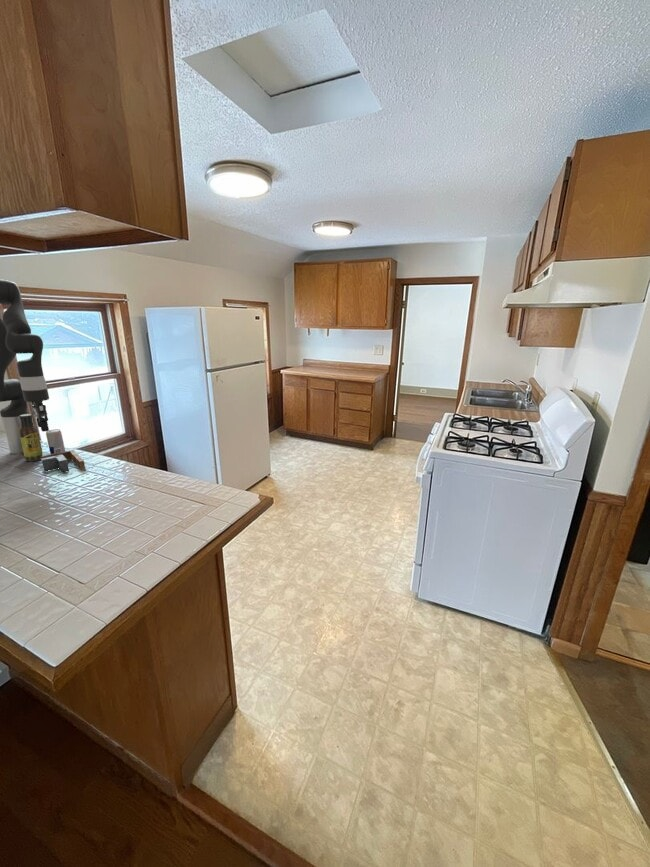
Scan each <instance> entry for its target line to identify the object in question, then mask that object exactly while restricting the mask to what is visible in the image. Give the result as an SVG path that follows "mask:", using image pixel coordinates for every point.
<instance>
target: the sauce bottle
mask: <svg viewBox="0 0 650 867" xmlns="http://www.w3.org/2000/svg"><path fill="white" fill-rule="evenodd" d="M19 417H20V420H21V425H22V427H21V429H20V438H21V443H22V448H23V452H24V453H23V455H24V456H23V457H24V459H25V461H27V462H33V461H35V462H36V461H39V460H41V459H42V456H43V454H44V453H43V449H42V448H43V447H42V443H41V438H40V434H39V430H38V428H37V427H36V426H35V425H34V422H33V415H32V413H31V414H30V413H28V414H24V415H20V416H19Z"/></svg>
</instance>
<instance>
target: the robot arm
mask: <svg viewBox="0 0 650 867" xmlns="http://www.w3.org/2000/svg"><path fill="white" fill-rule="evenodd" d="M0 304H1V305H10V306H9V307H7V309H6V310H5V311H4V312H3V313H2V317H1V316H0V402H1V403H2V402H10V403H9V404H8V405H7V406H5V407H4V408H2V409H0V418H1V421H2V425H3V429H4V433H5V436H6V441H7V444H8V448H9V452H10V454H12V455H20V454H24V452H23V448H22V443H21V438H20V429H21V427H22V425H21V420H20V417H19V416H20V415H24V414H29V413H28V408H29V406H28V403H31V405H30V407H31V410H32V413H33V415H34V417H35V419H36V423H37V426H38V428H40V430H41V432H43V433H44V432H46V431H49V430H50V429H49V424H48V422H49V418H48V411H47V406H46V404H45V403H44V401H49V400H50V395H49V390H48V385H47V381H46V378H45V375H44V370H43V364H42V357H43V356H42V355H43V351H44V350H43V349H44V341H43V339H42V337H41V336H40V335H38V334H35V333H32V329H31V326H30V324H29V322H28V320H27V318H26V314H25V309H24V302H23V298H22V294H21V290H20V288H19V286H18V285H17V283H15V282H13V281H10V280H6V279H1V278H0ZM17 354H32V355H31V356H30V358H26V359H22V360H18V361H17V362H16V367H17V370H18V375H19V379H17V378H8V379H5V374H6V372H7V369H8V368H9V366H10V365H11V363H12V362H13V361H14V360H15V357H16V356H17ZM27 402H28V403H27Z"/></svg>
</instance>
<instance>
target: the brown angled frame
mask: <svg viewBox="0 0 650 867" xmlns="http://www.w3.org/2000/svg"><path fill="white" fill-rule="evenodd" d="M42 455H43V454H42ZM57 455H63V456H64V457H65V458H66V459H67V462H68V461H72V462H73V463H74V464H75V466H76V467H77V466H78V467H77V468H78V469H79V470H80V471H82V472H83V471H86V465H85V461H84V459H83V458H82V456H80V455H79V454H78V453H77V452H76V451H75V450H74V449H71V450H65V451H64V452H59V453H53V454H50V453H49V454H44V455H43V456H42V458H47V457H52V456H57Z"/></svg>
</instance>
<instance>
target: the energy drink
mask: <svg viewBox="0 0 650 867" xmlns="http://www.w3.org/2000/svg"><path fill="white" fill-rule="evenodd" d="M45 437H46V439H47V444H48V448H49V454H53V453H59V452H64V451H66V447H65V444H64V439H63V434H62V431H61V429H49V431H45Z"/></svg>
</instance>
